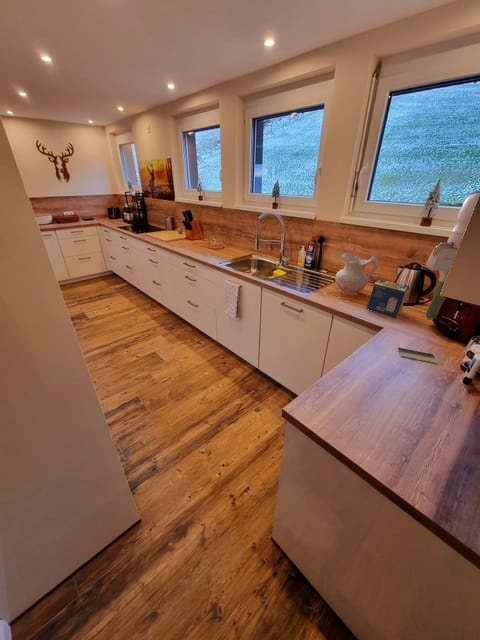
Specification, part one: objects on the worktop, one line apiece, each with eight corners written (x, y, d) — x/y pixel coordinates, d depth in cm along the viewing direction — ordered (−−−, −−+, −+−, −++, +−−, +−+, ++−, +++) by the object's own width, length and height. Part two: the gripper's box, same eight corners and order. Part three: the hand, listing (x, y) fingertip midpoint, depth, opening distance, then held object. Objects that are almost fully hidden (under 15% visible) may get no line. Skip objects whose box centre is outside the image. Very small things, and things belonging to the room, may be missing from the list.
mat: (429, 349, 113) (430, 348, 113) (436, 364, 104) (437, 362, 104) (396, 342, 117) (396, 341, 117) (400, 356, 108) (401, 355, 107)
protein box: (371, 303, 154) (379, 278, 147) (400, 312, 145) (410, 286, 138) (365, 309, 147) (373, 283, 140) (395, 318, 138) (405, 291, 131)
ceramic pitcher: (365, 290, 176) (374, 253, 165) (371, 300, 158) (382, 258, 148) (331, 287, 180) (338, 250, 169) (334, 295, 162) (342, 255, 152)
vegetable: (423, 316, 105) (442, 268, 96) (435, 319, 104) (457, 270, 94) (424, 321, 102) (445, 271, 92) (437, 323, 100) (460, 273, 91)
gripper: (445, 244, 84) (429, 285, 91) (497, 244, 88) (478, 283, 94) (429, 240, 90) (415, 279, 96) (478, 240, 93) (462, 277, 100)
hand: (446, 281), depth 95 cm, fingers closed on vegetable, 3 cm apart
